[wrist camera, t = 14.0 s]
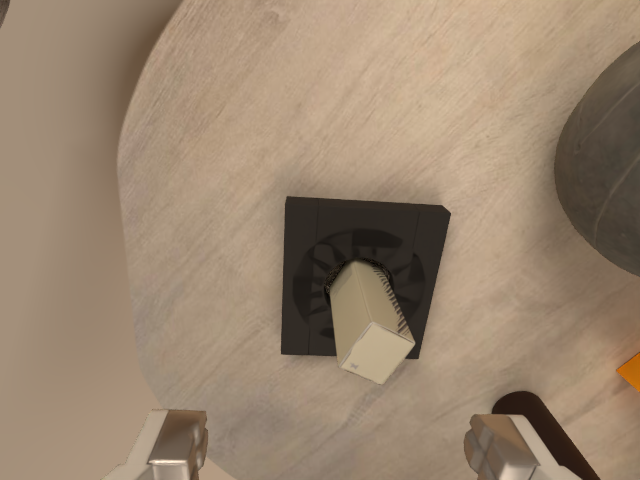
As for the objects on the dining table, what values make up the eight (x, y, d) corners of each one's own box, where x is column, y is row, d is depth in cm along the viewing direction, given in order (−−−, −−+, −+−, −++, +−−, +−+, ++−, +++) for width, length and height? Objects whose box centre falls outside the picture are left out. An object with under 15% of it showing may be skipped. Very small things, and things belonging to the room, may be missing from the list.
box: (360, 303, 40) (381, 390, 28) (327, 287, 39) (334, 370, 28) (385, 267, 39) (419, 345, 27) (352, 249, 38) (371, 322, 26)
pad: (282, 340, 42) (280, 354, 40) (286, 196, 35) (285, 203, 33) (412, 345, 43) (418, 359, 41) (442, 205, 36) (451, 212, 34)
